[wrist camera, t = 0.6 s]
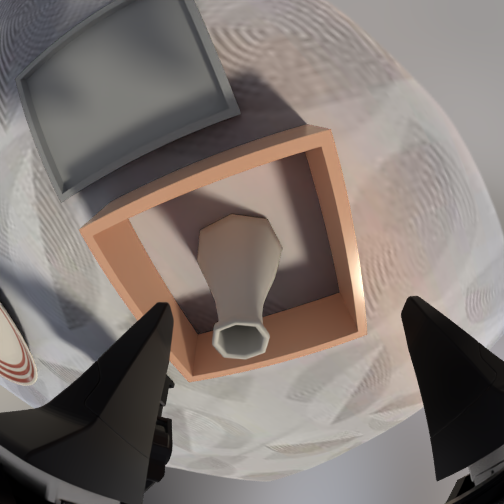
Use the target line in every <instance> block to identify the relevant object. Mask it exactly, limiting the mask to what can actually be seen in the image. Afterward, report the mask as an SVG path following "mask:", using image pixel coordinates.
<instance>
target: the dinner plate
mask: <svg viewBox="0 0 504 504" xmlns="http://www.w3.org/2000/svg"><path fill="white" fill-rule="evenodd" d="M0 376H2V377H4V378H5V379H7V380H9V381H11V382H13V383H16V384H19V385H32V384H34V383H35V382H36V380H37V368H36V365H35V362H34V359H33V357H32V354H31V352H30V350H29V348H28V346H27V344H26V342H25V340H24V338H23V337H22V335H21V333H20V331H19V330H18V328H17V326H16V325H15V323H14V322H13V320H12V319H11V317H10V316H9V314H8V312H7V311H6V310H5V308H4V307H3V305H2V304H1V303H0Z"/></svg>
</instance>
